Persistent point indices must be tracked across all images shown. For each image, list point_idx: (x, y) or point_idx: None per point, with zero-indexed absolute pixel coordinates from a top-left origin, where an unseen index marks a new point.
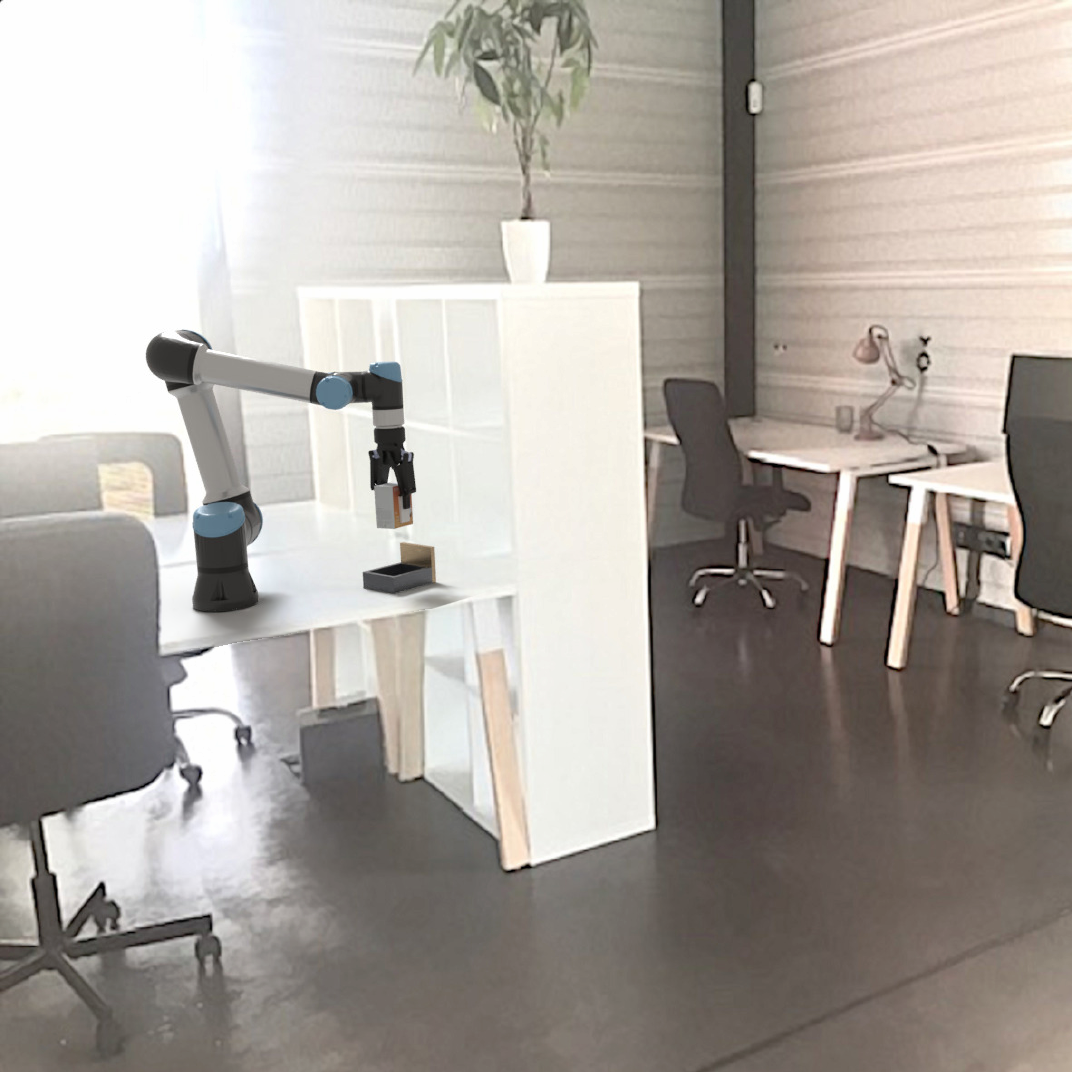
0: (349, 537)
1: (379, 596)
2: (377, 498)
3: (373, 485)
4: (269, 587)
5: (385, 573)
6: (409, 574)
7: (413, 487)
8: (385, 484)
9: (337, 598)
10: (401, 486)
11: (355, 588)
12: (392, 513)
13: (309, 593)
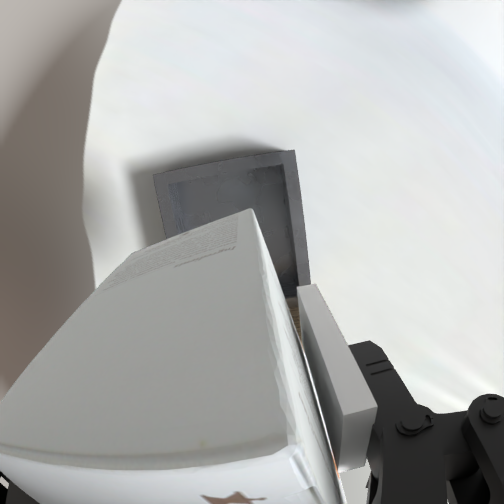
0: None
1: (173, 130)
2: (213, 296)
3: (486, 444)
4: (445, 38)
5: (290, 230)
6: (167, 238)
7: (1, 486)
8: None
9: (240, 47)
10: (11, 487)
11: (300, 133)
12: (103, 286)
13: (341, 36)
